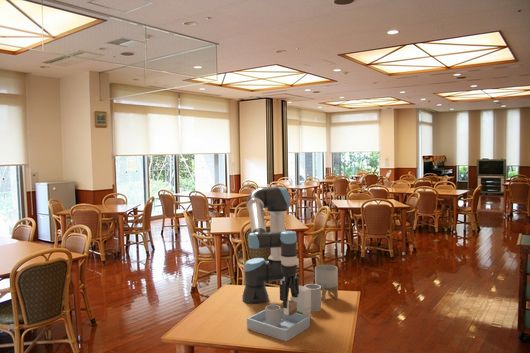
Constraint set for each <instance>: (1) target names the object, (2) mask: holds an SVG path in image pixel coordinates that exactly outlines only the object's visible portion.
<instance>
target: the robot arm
mask: <svg viewBox="0 0 530 353" xmlns="http://www.w3.org/2000/svg"><path fill="white" fill-rule="evenodd" d="M290 207H291V198H290V193H289V191H288V189H287V187H281V186H276V187H275V186H274V187H260V188H258V187H257V188H256V189H254V190H253V191H252V192H251V193H250V194H249V195H248V197H247V199H246V209H247V211H248V213H249V214H248V215H249V220H250V222H249V223H250V224H249V225H250V231H251V232H249V233H248V234H247V235H248V237H247V239H248V248H250V249H256V250H257V249H270V255H269V256H268V258H267V259H268V260H266V259H265V258H263V257H254V258H251V259H248V260H247V261H246V262H245V263H244V270H243V271H244V290H243V292H242V296H241V297H242V300H241V301H243V302H244V303H245V304H251V305H258V304H259V305H260V304H263V303H267V302H268V301H269V293H268V291H267V287H266V282H278V284H279V301H282V303H283V308H284V314H286V315H289V301H288V300H290V301H294V302H296V297H298V294H299V284H300V279H299V278H300V274H298V273H297V272H298V265H297V264H298V254H297V253H298V252H297V251H298V250H297V246H298V245H297V241H298V239H297V233H296V231H293V230H286V213H287V212H288V208H290ZM264 209H266V211H267V212H268V213H269V224H270V225H269V228H270V231H269V232H267V228H266V227H267V226H266V222H265V220H266V219H265V214H264ZM296 291H297V292H296ZM289 292H290V294H291V296H290V299H289Z"/></svg>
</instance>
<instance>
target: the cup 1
mask: <svg viewBox="0 0 530 353" xmlns="http://www.w3.org/2000/svg"><path fill="white" fill-rule="evenodd" d="M265 309H266V324H269V325H272V326H275V327H279V326H280V324H281V323H282V322H284V321H285V320H286V314H283V313H282V314H283V318H282V319H281V316H280V312H282V308H281V306H280V305H278V304H269V305H266V306H265Z"/></svg>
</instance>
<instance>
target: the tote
mask: <svg viewBox="0 0 530 353" xmlns="http://www.w3.org/2000/svg"><path fill="white" fill-rule="evenodd" d="M280 316H281V319H282V318H283V314H282V312H280ZM310 322H311V317H309V316H305V315H301V314H298V313H295V314H293V315H291V316H290V315H286V320H285V321H284V322H282V323H281V324H280V326H279V327H275V326H272V325H269V324H266V308H265V309H263V310H261V311H259V312H257V313H255V314H253V315H251V316H249V317H247V318H246V328H247V329H248V330H251V331H253V332H256V333H260V334H262V335H265V336H269V337H272V338H274V339H278V340H281V341H284V342H288V341H289V340H291V339H293V338H294V337H296V336H297V335H299V334H301V333H302V332H304V331H305V330H307V329H309V328H310V326H311V323H310Z"/></svg>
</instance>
